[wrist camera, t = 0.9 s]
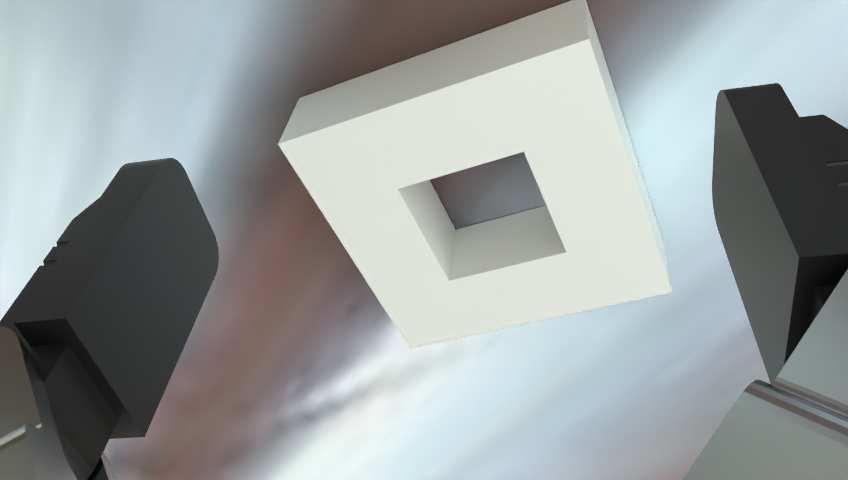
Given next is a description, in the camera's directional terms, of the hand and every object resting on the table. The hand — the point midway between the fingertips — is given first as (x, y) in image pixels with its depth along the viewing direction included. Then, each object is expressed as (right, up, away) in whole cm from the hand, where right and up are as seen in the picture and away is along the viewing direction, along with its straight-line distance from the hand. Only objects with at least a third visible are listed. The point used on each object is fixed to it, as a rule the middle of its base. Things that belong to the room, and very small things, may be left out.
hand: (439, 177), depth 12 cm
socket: (+3, +3, +27) cm, 27 cm away
